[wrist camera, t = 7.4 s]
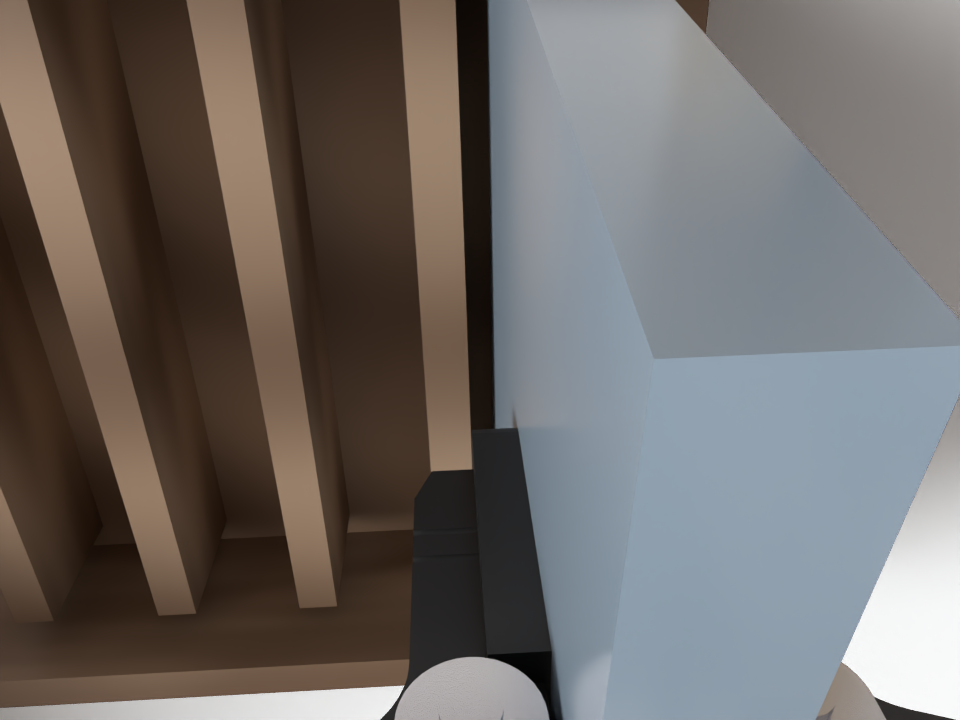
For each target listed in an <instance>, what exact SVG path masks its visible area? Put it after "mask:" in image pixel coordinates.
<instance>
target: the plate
mask: <svg viewBox="0 0 960 720" xmlns="http://www.w3.org/2000/svg"><path fill="white" fill-rule="evenodd" d="M487 43H488V135H489V227H490V319H491V411H492V429H500V428H518V432H519V438H520V445H521V451H522V458H523V465H524V471H525V478H526V485H527V491H528V498H529V504H530V511H531V518H532V524H533V531H534V537H535V544H536V551H537V557H538V564H539V570H540V577H541V584H542V590H543V597H544V603H545V610H546V617H547V623H548V630H549V636H550V643H551V650H552V658H551V692H550V720H816V718H817V715H818V713H819V711H820V709H821V706H822V704H823V702H824V700H825V697H826V695H827V693H828V691H829V688H830V686H831V684H832V682H833V679H834V677H835V675H836V673H837V670H838V668H839V666H840V663H841V661H842V659H843V657H844V654H845V652H846V650H847V648H848V645H849V643H850V641H851V639H852V636H853V634H854V632H855V630H856V627H857V625H858V623H859V621H860V618H861V616H862V614H863V612H864V609H865V607H866V605H867V603H868V600H869V598H870V596H871V594H872V591H873V589H874V587H875V585H876V582H877V580H878V578H879V576H880V573H881V571H882V569H883V567H884V564H885V562H886V560H887V558H888V555H889V553H890V551H891V549H892V546H893V544H894V542H895V539H896V537H897V535H898V533H899V530H900V528H901V526H902V524H903V521H904V519H905V517H906V515H907V512H908V510H909V508H910V506H911V503H912V501H913V499H914V497H915V494H916V492H917V490H918V488H919V485H920V483H921V481H922V479H923V476H924V474H925V472H926V470H927V467H928V465H929V463H930V461H931V458H932V456H933V454H934V452H935V449H936V447H937V445H938V443H939V440H940V438H941V436H942V434H943V431H944V429H945V427H946V425H947V422H948V420H949V418H950V415H951V413H952V411H953V409H954V406H955V404H956V402H957V400H958V397H959V395H960V320H959V319H958V317H957V316H956V315H955V314H954V313H953V312H952V311H951V310H950V308H949V307H948V306H947V305H946V304H945V303H944V302H943V301H942V299H941V298H940V297H939V296H938V295H937V294H936V293H935V292H934V290H933V289H932V288H931V287H930V286H929V285H928V284H927V283H926V281H925V280H924V279H923V278H922V277H921V276H920V275H919V274H918V272H917V271H916V270H915V269H914V268H913V267H912V266H911V265H910V264H909V262H908V261H907V260H906V259H905V258H904V257H903V256H902V255H901V253H900V252H899V251H898V250H897V249H896V248H895V247H894V246H893V244H892V243H891V242H890V241H889V240H888V239H887V238H886V237H885V235H884V234H883V233H882V232H881V231H880V230H879V229H878V228H877V226H876V225H875V224H874V223H873V222H872V221H871V220H870V219H869V217H868V216H867V215H866V214H865V213H864V212H863V211H862V210H861V208H860V207H859V206H858V205H857V204H856V203H855V202H854V201H853V199H852V198H851V197H850V196H849V195H848V194H847V193H846V192H845V190H844V189H843V188H842V187H841V186H840V185H839V184H838V183H837V181H836V180H835V179H834V178H833V177H832V176H831V175H830V174H829V173H828V171H827V170H826V169H825V168H824V167H823V166H822V165H821V164H820V162H819V161H818V160H817V159H816V158H815V157H814V156H813V155H812V153H811V152H810V151H809V150H808V149H807V148H806V147H805V146H804V144H803V143H802V142H801V141H800V140H799V139H798V138H797V137H796V135H795V134H794V133H793V132H792V131H791V130H790V129H789V128H788V126H787V125H786V124H785V123H784V122H783V121H782V120H781V119H780V117H779V116H778V115H777V114H776V113H775V112H774V111H773V110H772V108H771V107H770V106H769V105H768V104H767V103H766V102H765V101H764V99H763V98H762V97H761V96H760V95H759V94H758V93H757V92H756V91H755V89H754V88H753V87H752V86H751V85H750V84H749V83H748V82H747V80H746V79H745V78H744V77H743V76H742V75H741V74H740V73H739V71H738V70H737V69H736V68H735V67H734V66H733V65H732V64H731V62H730V61H729V60H728V59H727V58H726V57H725V56H724V55H723V53H722V52H721V51H720V50H719V49H718V48H717V47H716V46H715V44H714V43H713V42H712V41H711V40H710V39H709V38H708V37H707V35H706V34H705V33H704V32H703V31H702V30H701V29H700V28H699V26H698V25H697V24H696V23H695V22H694V21H693V20H692V19H691V17H690V16H689V15H688V14H687V13H686V12H685V11H684V10H683V8H682V7H681V6H680V5H679V4H678V3H677V2H676V1H675V0H487Z"/></svg>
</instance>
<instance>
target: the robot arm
mask: <svg viewBox="0 0 960 720" xmlns="http://www.w3.org/2000/svg"><path fill="white" fill-rule="evenodd" d="M471 440H472V469H467V470H446V471H432V472H431V473H430V475H429V477H428V478H427V480H426V481H425V483H424V484H423V486H422V488H421V489H420V491H419V492H418V494H417V496H416V497H415V499H414V528H413V531H414V536H413V563H412V591H411V623H410V654H409V670H408V676H407V679H406V683H405V686H404V688H403V690H402V692H401V694H400V696H399V698H398V699H397V701H396V702H395V704H394V705H393V707H392V708H391V709H390V710H389V711H388V712H387V713H386V714H385V715H384V717H383V718H382V719H381V720H550V692H551V658H552V650H551V643H550V636H549V630H548V623H547V617H546V610H545V603H544V597H543V590H542V584H541V577H540V570H539V564H538V557H537V551H536V544H535V537H534V531H533V524H532V518H531V511H530V504H529V498H528V491H527V485H526V478H525V471H524V465H523V458H522V451H521V445H520V438H519V432H518V428H500V429H478V430H471ZM816 720H954V719H950V718H945V717H941V716H937V715H932V714H928V713H923V712H919V711H914V710H910V709H906V708H903V707H899V706H895V705H892V704H890V703H887V702H885V701H882V700H880V699H877V698H876V697H874V696H873V695H872V693H871V692H870V690H869V688H868V687H867V686H866V684H865V683H864V682H863V681H862V680H861V679H860V677H859V676H858V675H857V674H856V673H854V672H853V671H852V670H851V669H850V668H849V667H848V666H846V665H845V664H843V663H842V662H841V663H840V666H839V668H838V670H837V673H836V675H835V677H834V679H833V682H832V684H831V686H830V688H829V691H828V693H827V695H826V697H825V700H824V702H823V704H822V706H821V709H820V711H819V713H818V715H817V718H816Z"/></svg>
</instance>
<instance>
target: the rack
mask: <svg viewBox="0 0 960 720" xmlns="http://www.w3.org/2000/svg"><path fill="white" fill-rule="evenodd" d="M675 1H676V2H677V3H678V4H679V5H680V6H681V7H682V8H683V10H684V11H685V12H686V13H687V14H688V15H689V16H690V17H691V19H692V20H693V21H694V22H695V23H696V24H697V25H698V26H699V28H700V29H701V30H702V31H703V32H704V33H705V34H706V25H707V15H708V6H709V0H675ZM478 429H492V411H491V319H490V227H489V135H488V43H487V0H0V708H6V707H24V706H42V705H60V704H78V703H96V702H114V701H132V700H150V699H168V698H186V697H204V696H222V695H240V694H258V693H276V692H294V691H312V690H330V689H348V688H365V687H383V686H401V685H405V683H406V679H407V676H408V670H409V654H410V623H411V591H412V563H413V536H414V531H413V528H414V499H415V497H416V496H417V494H418V492H419V491H420V489H421V488H422V486H423V484H424V483H425V481H426V480H427V478H428V477H429V475H430V473H431V472H432V471H446V470H467V469H472V440H471V430H478Z"/></svg>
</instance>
